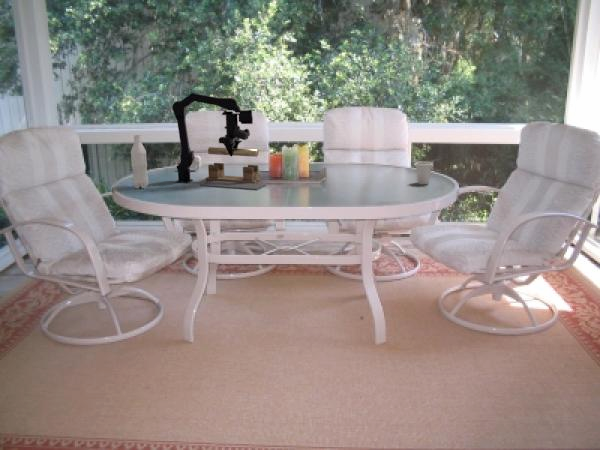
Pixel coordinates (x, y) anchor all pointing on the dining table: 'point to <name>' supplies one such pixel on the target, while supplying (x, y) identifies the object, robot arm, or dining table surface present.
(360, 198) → the dining table surface
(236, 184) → the rubber mat
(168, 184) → the dining table surface
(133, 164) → the water bottle
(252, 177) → the rail stand
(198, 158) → the penguin figurine
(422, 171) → the dixie cup
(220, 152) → the bronze rail
